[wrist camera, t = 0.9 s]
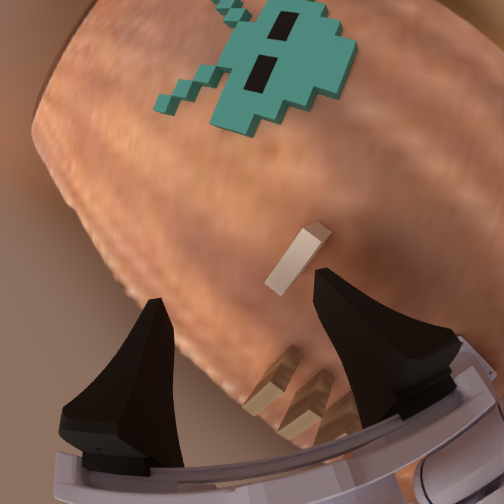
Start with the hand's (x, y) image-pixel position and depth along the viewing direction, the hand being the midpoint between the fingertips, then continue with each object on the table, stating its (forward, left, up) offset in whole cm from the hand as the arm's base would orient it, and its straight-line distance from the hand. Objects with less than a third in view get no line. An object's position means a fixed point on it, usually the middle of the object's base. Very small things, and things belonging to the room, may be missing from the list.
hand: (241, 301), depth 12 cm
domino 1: (-6, +12, -15) cm, 19 cm away
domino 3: (-15, +12, -15) cm, 24 cm away
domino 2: (-10, +12, -15) cm, 21 cm away
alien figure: (+16, -15, -15) cm, 27 cm away
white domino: (0, 0, -15) cm, 14 cm away
